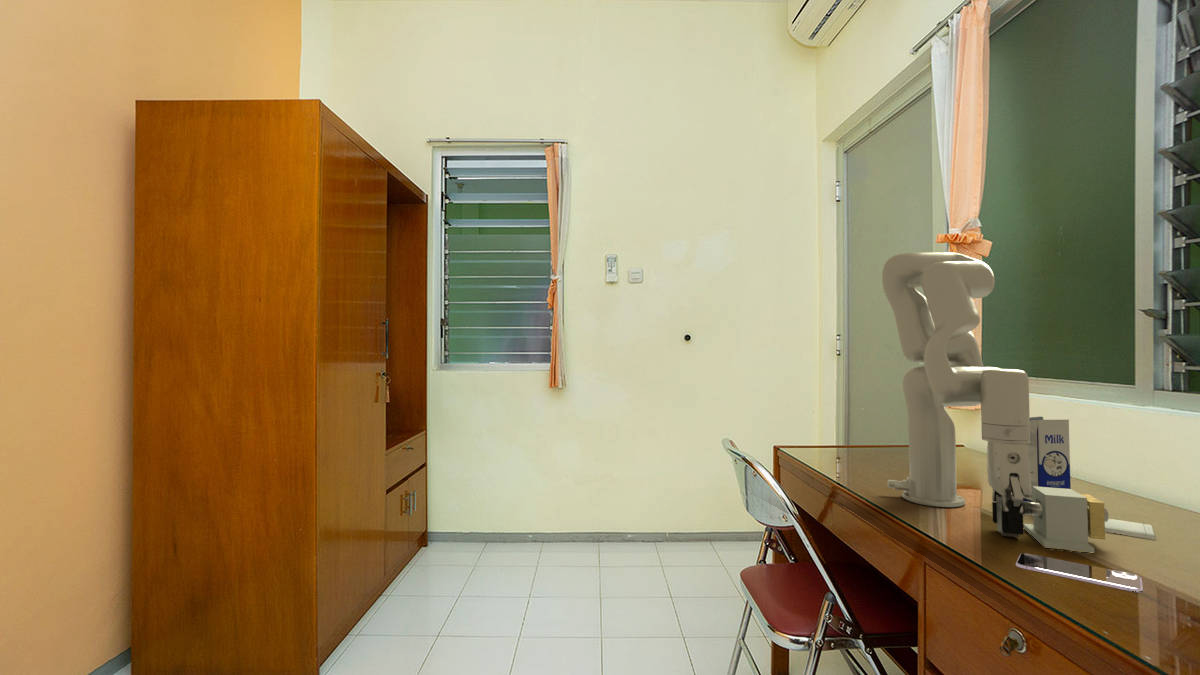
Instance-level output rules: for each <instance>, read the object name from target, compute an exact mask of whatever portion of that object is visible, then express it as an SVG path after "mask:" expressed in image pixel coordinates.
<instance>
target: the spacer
mask: <svg viewBox="0 0 1200 675" xmlns="http://www.w3.org/2000/svg"><path fill="white" fill-rule="evenodd" d="M1080 494H1081V495H1082V496H1084V497H1086V498H1087V518H1088V538H1090V539H1095V540H1106V532H1105V514H1104V508H1105V502H1103V501H1102V500H1100V499H1098V498H1096V497H1094V496H1092V495H1091V494H1087V493H1086V494H1085V493H1080Z"/></svg>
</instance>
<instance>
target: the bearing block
mask: <svg viewBox="0 0 1200 675" xmlns="http://www.w3.org/2000/svg"><path fill="white" fill-rule="evenodd" d="M1032 488H1033V502H1038V503H1042V516H1036V515H1032V517H1033V518H1032V520H1033V521H1032V522H1033V523H1032V524H1031V523H1023V528H1024V529H1025V530H1026V531H1027V532H1028V533H1029V534H1028V533H1027V532H1026V531H1025V530H1024V529H1023V530H1024V531H1025V532H1026V533H1027V534H1028V535H1030V534H1031V535H1032V536H1033V537H1034V538H1035V539H1036V540H1037V541H1038V542H1039V543H1041V544H1042V545H1043V546H1044V547H1046V548H1057V549H1067V550H1074V551H1084V552H1093V553H1095V547H1094V546H1093V545H1091V544H1090V543H1089V537H1088V518H1087V498H1086V497H1084V496H1082V495H1081V494H1082V493H1079V492H1077V491H1075V490H1074V489H1072V488H1071V489H1064V488H1050V487H1036V486H1032ZM1031 535H1030V536H1031ZM1032 536H1031V537H1032ZM1033 537H1032V538H1033ZM1034 538H1033V539H1034ZM1035 539H1034V540H1035ZM1036 540H1035V541H1036ZM1037 541H1036V542H1037ZM1038 542H1037V543H1038ZM1039 543H1038V544H1039ZM1043 546H1042V547H1043ZM1044 547H1043V548H1044Z"/></svg>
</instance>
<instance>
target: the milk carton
mask: <svg viewBox="0 0 1200 675" xmlns="http://www.w3.org/2000/svg"><path fill="white" fill-rule="evenodd" d="M1026 446H1027V450H1028V457H1029V465H1030V477H1031V491H1032V495H1031V496H1030V497H1029V498H1027V497H1025V496H1023V495H1022V496H1023V501H1026V502H1033V488H1032V486H1036V487H1050V488H1064V489H1072V488H1071V459H1070V458H1071V455H1070V454H1071V453H1070V452H1071V451H1070V450H1071V449H1070V448H1071V447H1070V419H1044V417H1043V416H1032V417H1030V443H1028V444H1026Z"/></svg>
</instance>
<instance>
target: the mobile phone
mask: <svg viewBox="0 0 1200 675" xmlns="http://www.w3.org/2000/svg"><path fill="white" fill-rule="evenodd" d="M1015 566H1016V567H1018V568H1021V569H1023V570H1028V571H1034V572H1038V573H1043V574H1047V575H1051V576H1056V577H1062V578H1067V579H1072V580H1075V581H1081V582H1085V583H1090V584H1094V585H1099V586H1105V587H1108V588H1109V587H1110V588H1113V589H1119V590H1122V591H1127V592H1132V591H1134V592H1133V593H1140V592H1139V591H1143V592H1144V588H1143V579H1142V577H1141V576H1139V575H1137V574H1134V573H1133V572H1124V571H1120V570H1115V569H1108V568H1104V567H1099V566H1095V565H1089V564H1085V563H1078V562H1074V561H1073V562H1072V561H1069V560H1062V559H1058V558H1053V557H1047V556H1043V555H1038V554H1034V553H1033V554H1031V553H1028V552H1026V553H1025V552H1024V553H1023V552H1022V553H1020V554H1019V556H1018V558H1017V560H1016V562H1015ZM1135 591H1136V592H1135Z"/></svg>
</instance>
